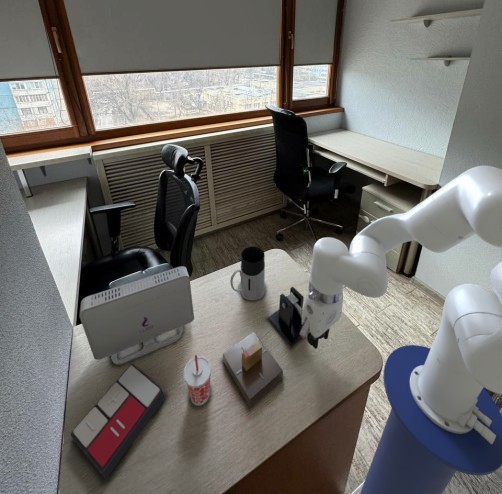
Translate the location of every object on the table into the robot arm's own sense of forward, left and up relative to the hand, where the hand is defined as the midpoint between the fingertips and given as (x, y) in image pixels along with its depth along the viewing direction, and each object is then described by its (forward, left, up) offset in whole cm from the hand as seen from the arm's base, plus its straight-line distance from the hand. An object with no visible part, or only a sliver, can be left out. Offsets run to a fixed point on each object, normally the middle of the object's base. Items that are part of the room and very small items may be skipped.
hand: (317, 338), depth 70 cm
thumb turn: (+7, +16, -3) cm, 18 cm away
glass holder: (+26, +4, -6) cm, 27 cm away
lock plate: (+7, +16, -6) cm, 18 cm away
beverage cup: (+10, +29, -6) cm, 31 cm away
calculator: (+16, +45, -6) cm, 48 cm away
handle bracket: (+10, 0, -6) cm, 12 cm away
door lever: (+5, 0, +2) cm, 5 cm away
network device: (+31, +35, -6) cm, 47 cm away
